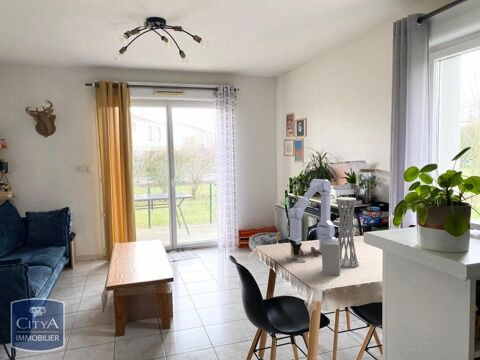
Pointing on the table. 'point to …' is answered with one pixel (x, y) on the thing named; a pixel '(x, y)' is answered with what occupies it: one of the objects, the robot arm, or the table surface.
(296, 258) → the slate mat
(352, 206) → the vase
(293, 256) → the oak block
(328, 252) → the skincare box
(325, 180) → the robot arm
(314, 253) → the shelf slot
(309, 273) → the table surface
